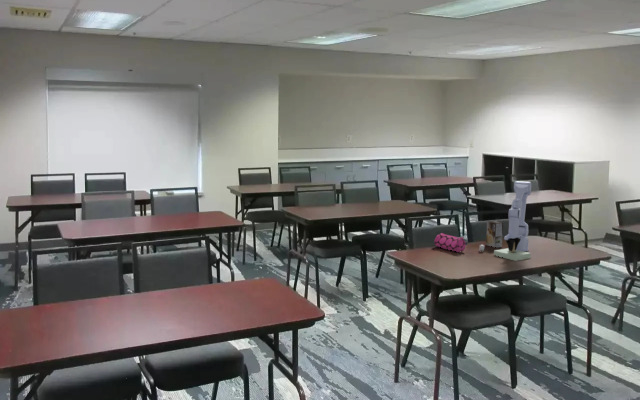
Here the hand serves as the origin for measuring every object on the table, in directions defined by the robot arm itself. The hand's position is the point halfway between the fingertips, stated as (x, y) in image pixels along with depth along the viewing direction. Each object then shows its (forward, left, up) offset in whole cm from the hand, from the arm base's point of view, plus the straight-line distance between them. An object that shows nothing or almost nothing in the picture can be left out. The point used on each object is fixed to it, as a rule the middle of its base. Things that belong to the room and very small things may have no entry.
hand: (512, 250), depth 343 cm
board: (0, 0, -4) cm, 4 cm away
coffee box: (-15, -26, -4) cm, 30 cm away
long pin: (0, 0, -2) cm, 2 cm away
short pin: (+5, -19, -4) cm, 20 cm away
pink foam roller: (+19, -33, -4) cm, 38 cm away
